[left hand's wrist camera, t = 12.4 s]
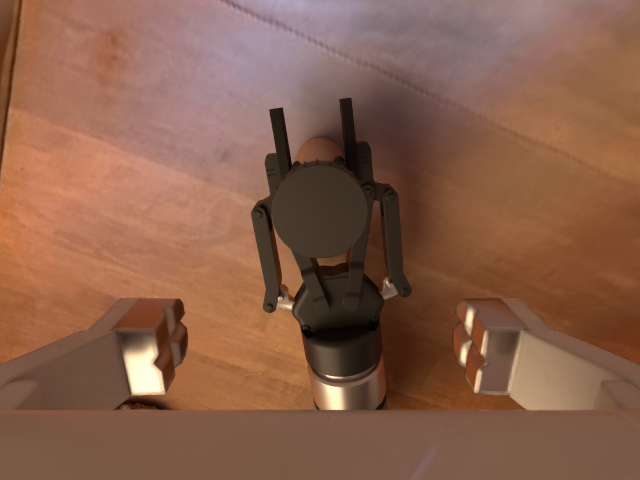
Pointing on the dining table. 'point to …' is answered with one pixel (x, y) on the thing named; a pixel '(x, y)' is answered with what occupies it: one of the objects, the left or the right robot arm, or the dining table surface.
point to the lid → (319, 209)
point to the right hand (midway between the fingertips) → (310, 104)
